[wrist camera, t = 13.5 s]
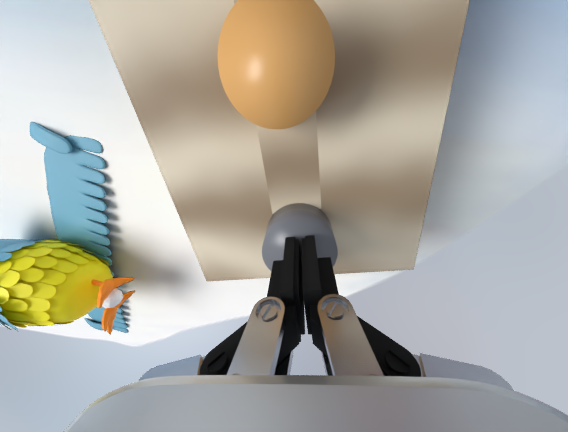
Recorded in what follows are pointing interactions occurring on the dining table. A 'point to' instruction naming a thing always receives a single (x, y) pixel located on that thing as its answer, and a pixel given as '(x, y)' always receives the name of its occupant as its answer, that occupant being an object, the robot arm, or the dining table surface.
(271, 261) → the knob
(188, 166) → the console
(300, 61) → the knob mid
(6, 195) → the dining table surface
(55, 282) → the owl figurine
